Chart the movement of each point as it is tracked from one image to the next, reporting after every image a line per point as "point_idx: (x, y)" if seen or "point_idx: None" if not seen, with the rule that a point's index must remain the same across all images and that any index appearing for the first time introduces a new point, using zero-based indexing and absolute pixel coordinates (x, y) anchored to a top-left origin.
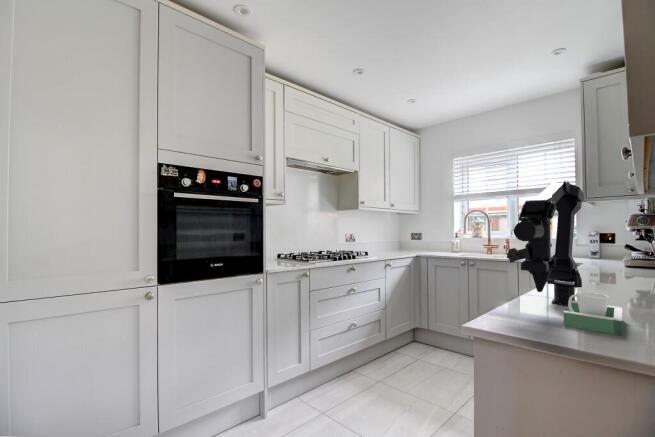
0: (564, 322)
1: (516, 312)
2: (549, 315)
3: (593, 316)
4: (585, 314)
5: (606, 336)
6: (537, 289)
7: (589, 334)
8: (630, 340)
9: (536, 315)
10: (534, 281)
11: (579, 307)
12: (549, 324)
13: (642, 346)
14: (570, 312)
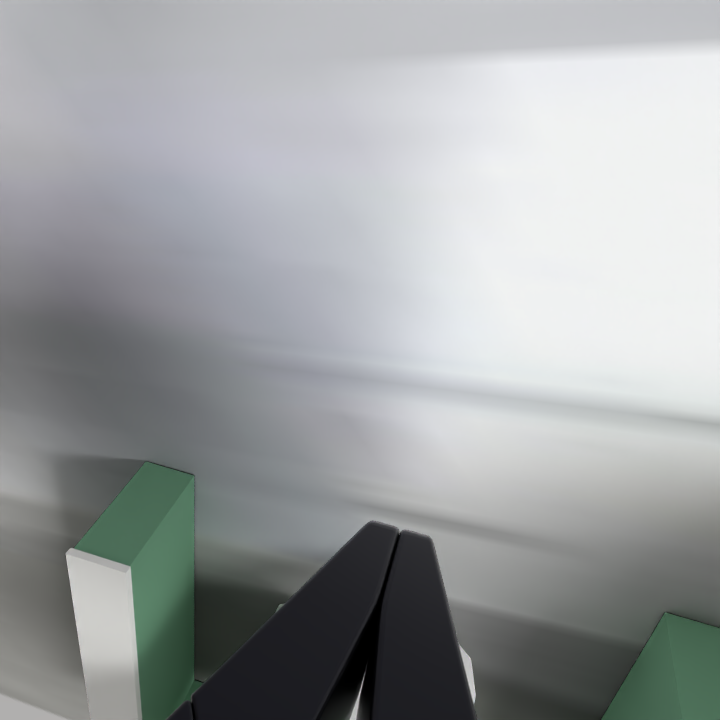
0: (130, 483)
1: (393, 9)
2: (461, 412)
3: (88, 698)
4: (104, 674)
5: None
6: (345, 556)
7: (42, 553)
8: None
9: (374, 278)
10: (198, 691)
11: None
12: (89, 360)
13: (31, 692)
14: (84, 598)
